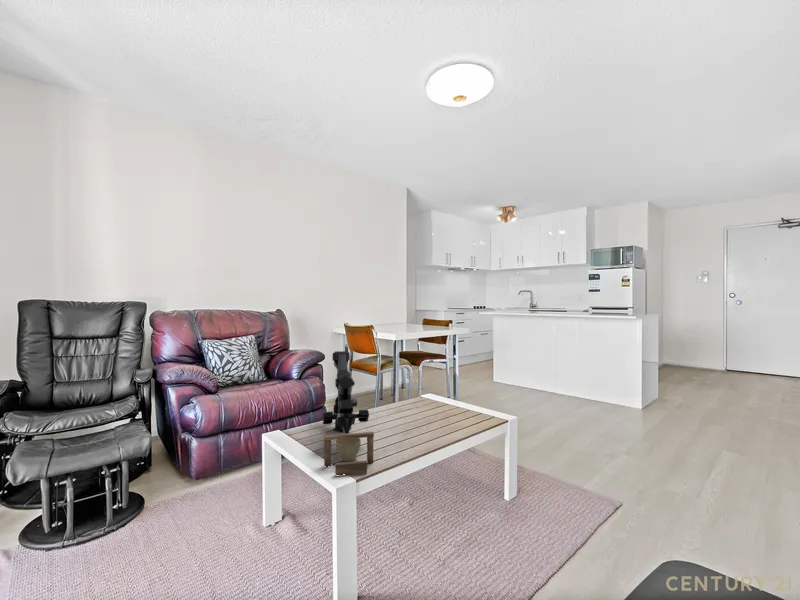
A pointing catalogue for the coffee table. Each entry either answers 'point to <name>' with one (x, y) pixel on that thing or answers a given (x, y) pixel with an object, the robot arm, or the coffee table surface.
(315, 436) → the coffee table surface
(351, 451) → the flower pot
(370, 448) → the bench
